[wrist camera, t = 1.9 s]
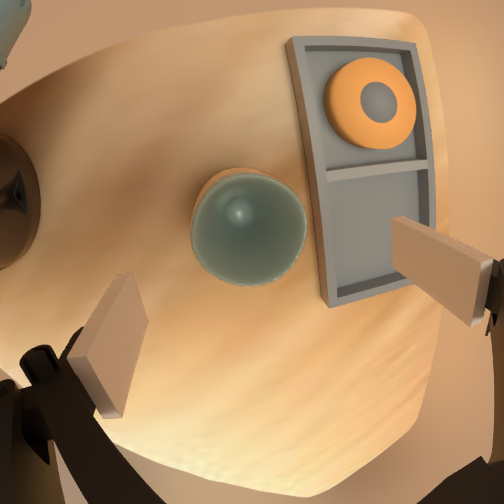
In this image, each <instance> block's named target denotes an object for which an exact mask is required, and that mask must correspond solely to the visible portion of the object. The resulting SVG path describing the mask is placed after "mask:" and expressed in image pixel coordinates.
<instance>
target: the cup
mask: <svg viewBox="0 0 504 504" xmlns="http://www.w3.org/2000/svg"><path fill="white" fill-rule="evenodd" d="M306 234H307V216H306V212H305V209H304V206H303V204H302V202H301V201H300V199H299V197H298V196H297V195H296V194H295V193H294V191H293V190H292V189H291V188H290V187H288V186H287V185H286V184H284V183H283V182H281V181H280V180H278V179H276V178H274V177H272V176H270V175H268V174H266V173H264V172H261V171H257V170H254V169H250V168H240V167H239V168H229V169H226V170H223V171H221V172H219V173H217V174H216V175H214V176H213V177H212V178H211V179H210V180H209V181H208V182H207V183H206V184H205V185H204V187H203V188H202V190H201V191H200V193H199V196H198V198H197V200H196V203H195V206H194V210H193V214H192V218H191V228H190V238H191V245H192V249H193V251H194V254H195V257H196V258H197V260H198V261H199V263H200V264H201V265H202V267H203V268H204V269H205V270H206V271H208V272H209V273H210V274H211V275H213V276H214V277H216V278H218V279H220V280H222V281H224V282H227V283H230V284H233V285H238V286H249V287H254V286H261V285H265V284H268V283H271V282H274V281H275V280H277V279H279V278H280V277H282V276H283V275H284V274H285V273H286V272H287V271H288V270H290V268H291V267H292V266H293V265H294V263H295V262H296V261H297V259H298V257H299V255H300V253H301V251H302V249H303V246H304V243H305V240H306Z"/></svg>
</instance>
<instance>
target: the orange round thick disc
mask: <svg viewBox="0 0 504 504" xmlns="http://www.w3.org/2000/svg"><path fill="white" fill-rule="evenodd" d="M323 105H324V111H325V114H326V117H327V119H328V122H329V123H330V125H331V127H332V128H333V130H334V131H335V132H336V133H337V134H338V136H340V137H341V138H342V139H343V140H345V141H346V142H348V143H349V144H351V145H354V146H356V147H361V148H372V149H389V148H393V147H395V146H397V145H399V144H401V143H402V142H403V141H404V140H405V139H406V138H407V137H408V136H409V134H410V133H411V131H412V129H413V126H414V123H415V119H416V102H415V97H414V94H413V91H412V89H411V87H410V85H409V83H408V81H407V80H406V78H405V77H404V76H403V74H402V73H401V72H400V71H399V70H398V69H396V68H395V67H394V66H393V65H391V64H390V63H388V62H386V61H383V60H381V59H377V58H369V57H368V58H361V59H357V60H355V61H353V62H351V63H349V64H347V65H345V66H343V67H341V68H339V69H338V70H336V71H335V72H334V73H333V74H332V75H331V76H330V78H329V79H328V81H327V83H326V86H325V89H324V95H323Z"/></svg>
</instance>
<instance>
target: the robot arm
mask: <svg viewBox="0 0 504 504" xmlns="http://www.w3.org/2000/svg"><path fill="white" fill-rule="evenodd" d="M30 13H31V0H0V70H1V68H2V69H4V68H5V66H6V64H7V57H8V55H9V53H10V51H11V49H12V48H13V46H14V44H15V42H16V40H17V39H18V37H19V35H20V33H21V32H22V30H23V28H24V27H25V25H26V23H27V21H28V19H29V16H30ZM39 217H40V192H39V185H38V181H37V177H36V173H35V170H34V168H33V165H32V163H31V161H30V159H29V157H28V156H27V154H26V152H25V151H24V150H23V148H22V147H21V146H20V145H19V144H18V143H17V142H15V141H14V140H13V139H11V138H9V137H7V136H4V135H0V270H3V269H5V268H7V267H9V266H10V265H12V264H13V263H14V262H16V261H17V260H19V259H20V258H21V257H22V256H23V255H24V254H25V253H26V252H27V250H28V249H29V247H30V246H31V244H32V242H33V240H34V237H35V235H36V232H37V228H38V223H39ZM391 245H392V268H394V269H395V270H397V271H398V272H399V273H401V274H402V275H403V276H405V277H406V278H407V279H409V280H410V281H411V282H413V283H414V284H415V285H417V286H418V287H419V288H421V289H422V290H423V291H425V292H426V293H427V294H429V295H430V296H431V297H433V298H434V299H435V300H436V301H438V302H439V303H440V304H442V305H443V306H444V307H445V308H447V309H448V310H449V311H451V312H452V313H453V314H454V315H456V316H457V317H458V318H459V319H461V320H462V321H463V322H464V323H465V324H467V325H468V326H469V327H472V326H474V325H476V324H478V323H480V322H482V320H483V315H484V311H485V308H487V309H488V310H490V311H491V313H490V318H489V322H488V326H487V330H486V334H485V336H488V333H489V332H490V333H491V340H492V341H491V342H492V353H493V367H494V400H495V401H494V405H495V406H494V434H493V448H492V454H491V457H490V460H489V462H488V463H486V462H485V461H484V459H483V458H482V457H481V456H480V457H478V458H477V459H476V460H474V461H473V462H471V463H469V464H468V465H466V466H465V467H463V468H462V469H460V470H458V471H457V472H455V473H454V474H452V475H450V476H448V477H447V478H446V479H445V480H444V481H443V482H441V483H440V484H439V485H438V486H437V487H436V488H435V489H434V490H432V491H431V492H430V493H429V494H428V495H427V496H425V497H424V498H423V499H422V500H421V501H419V502H418V503H417V504H504V259H502V260H500V262H498V261H496V260H495V259H493V257H491V256H489V255H487V254H485V253H482V252H481V251H479V250H477V249H475V248H473V247H471V246H469V245H466V244H464V243H462V242H460V241H458V240H456V239H454V238H452V237H450V236H447V235H445V234H443V233H441V232H439V231H436V230H434V229H432V228H430V227H427V226H425V225H423V224H421V223H418V222H416V221H414V220H411V219H409V218H407V217H404V216H399V217H394V218H391ZM147 324H148V318H147V315H146V313H145V310H144V307H143V304H142V301H141V299H140V296H139V293H138V290H137V287H136V284H135V281H134V278H133V275H132V272H127V273H122V274H117V276H116V277H115V279H114V280H113V282H112V283H111V285H110V286H109V288H108V289H107V291H106V293H105V294H104V296H103V297H102V299H101V300H100V302H99V304H98V305H97V307H96V308H95V310H94V312H93V313H92V315H91V317H90V318H89V320H88V322H87V323H86V325H85V326H84V327H81V328H80V329H79V330H78V331H76V332H75V333H74V334H73V336H72V337H71V339H70V341H69V343H68V344H67V346H66V347H65V349H64V351H63V352H62V354H61V356H60V358H59V359H58V358H57V356H56V354H55V353H54V351H53V349H52V347H51V346H50V345H39V346H36V347H34V348H32V349H30V350H29V351H27V352H26V353H25V354H24V355H23V356H22V358H21V359H20V364H19V365H20V367H21V368H22V370H23V372H24V373H25V375H26V377H27V378H28V380H29V381H30V383H31V385H32V386H29V387H26V388H23V389H19V388H18V387H17V385H16V384H15V382H14V381H13V380H11V379H6V380H2V381H0V504H65V500H64V496H63V491H62V487H61V482H60V478H59V472H58V466H57V461H56V455H55V448H54V441H55V443H56V445H57V448H58V450H59V452H60V454H61V456H62V458H63V460H64V462H65V464H66V465H67V467H68V469H69V471H70V473H71V475H72V477H73V478H74V480H75V482H76V484H77V485H78V487H79V489H80V491H81V492H82V494H83V496H84V497H85V499H86V500H87V502H88V504H166V503H165V502H164V501H163V500H162V499H161V498H160V497H159V496H158V495H157V494H156V493H155V492H154V491H153V490H152V489H151V488H150V486H149V485H148V484H147V483H146V482H145V481H144V480H143V479H142V478H141V477H140V475H139V474H138V473H137V472H136V471H135V470H134V468H133V467H132V466H131V465H130V464H129V463H128V461H127V460H126V459H125V458H124V457H123V455H122V454H121V453H120V452H119V450H118V449H117V448H116V446H115V445H114V444H113V443H112V441H111V440H110V439H109V437H108V436H107V435H106V433H105V432H104V431H103V429H102V428H101V426H100V425H99V424H98V422H97V421H96V419H95V418H94V417H93V415H94V412H95V409H97V410H98V412H99V413H100V415H101V416H102V417H103V419H112V418H122V417H123V413H124V409H125V404H126V400H127V396H128V392H129V388H130V385H131V381H132V377H133V373H134V369H135V366H136V362H137V359H138V355H139V351H140V348H141V344H142V341H143V337H144V334H145V331H146V327H147Z"/></svg>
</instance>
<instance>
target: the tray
mask: <svg viewBox="0 0 504 504" xmlns="http://www.w3.org/2000/svg"><path fill="white" fill-rule="evenodd" d="M285 47H286V52H287V57H288V61H289V66H290V71H291V76H292V82H293V87H294V92H295V98H296V103H297V109H298V115H299V120H300V126H301V133H302V139H303V145H304V152H305V158H306V165H307V172H308V179H309V187H310V194H311V202H312V210H313V218H314V227H315V236H316V245H317V255H318V265H319V276H320V288H321V298H322V299H323V301H324V302H325V304H326V305H327V306H328V308H333V307H336V306H340V305H344V304H347V303H351V302H355V301H358V300H362V299H365V298H369V297H372V296H375V295H379V294H382V293H385V292H389V291H392V290H395V289H399V288H402V287H405V286H408V285H411V284H414V283H413V282H411V281H410V280H409V279H407V278H406V277H405V276H403V275H402V274H401V273H399V272H398V271H397V270H395V269H394V268H392V245H391V218H394V217H399V216H404V217H407V218H409V219H411V220H414V221H416V222H418V223H421V224H423V225H425V226H427V227H430V228H432V229H434V230H436V191H435V169H434V155H433V143H432V134H431V125H430V117H429V110H428V103H427V97H426V91H425V85H424V80H423V75H422V70H421V65H420V60H419V56H418V52H417V48H416V43H411V42H403V41H396V40H387V39H377V38H364V37H345V36H294V37H291V38H290V39H289V40H288V41H287V43H286V44H285ZM368 57H369V58H377V59H381V60H383V61H386V62H388V63H390V64H391V65H393V66H394V67H395V68H396V69H398V70H399V71H400V72H401V73H402V74H403V76H404V77H405V78H406V80H407V81H408V83H409V85H410V87H411V89H412V91H413V94H414V97H415V102H416V119H415V123H414V126H413V129H412V131H411V133H410V134H409V136H408V137H407V138H406V139H405V140H404V141H403V142H402V143H401V144H399V145H397V146H395V147H393V148H389V149H372V148H361V147H356V146H354V145H351V144H349V143H348V142H346V141H345V140H343V139H342V138H341V137H340V136H338V134H337V133H336V132H335V131H334V130H333V128H332V127H331V125H330V123H329V122H328V119H327V117H326V114H325V111H324V105H323V95H324V89H325V86H326V83H327V81H328V79H329V78H330V76H331V75H332V74H333V73H334V72H335V71H336V70H338V69H339V68H341V67H343V66H345V65H347V64H349V63H351V62H353V61H355V60H357V59H361V58H368Z"/></svg>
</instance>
